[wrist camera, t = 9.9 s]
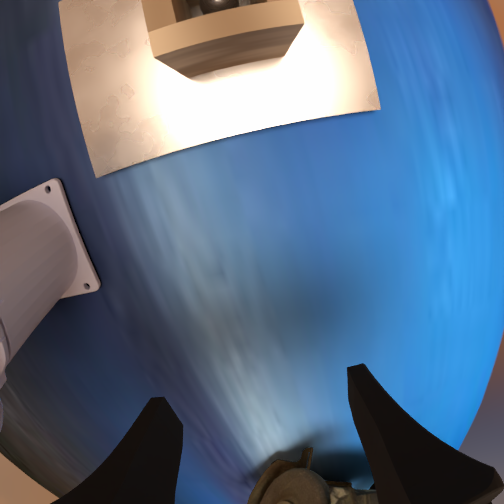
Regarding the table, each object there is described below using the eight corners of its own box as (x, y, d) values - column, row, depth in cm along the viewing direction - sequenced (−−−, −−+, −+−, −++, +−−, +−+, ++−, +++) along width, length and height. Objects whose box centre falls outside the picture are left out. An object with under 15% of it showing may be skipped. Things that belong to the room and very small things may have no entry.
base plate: (103, 174, 17) (57, 197, 12) (66, 6, 12) (19, -14, 7) (373, 109, 15) (418, 109, 11) (320, -63, 11) (341, -107, 6)
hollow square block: (187, 78, 14) (153, 57, 8) (168, -1, 12) (131, -49, 6) (284, 56, 13) (305, 23, 8) (262, -23, 11) (268, -81, 6)
